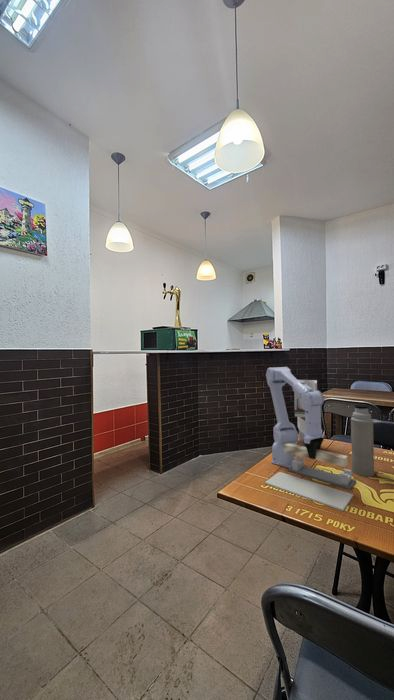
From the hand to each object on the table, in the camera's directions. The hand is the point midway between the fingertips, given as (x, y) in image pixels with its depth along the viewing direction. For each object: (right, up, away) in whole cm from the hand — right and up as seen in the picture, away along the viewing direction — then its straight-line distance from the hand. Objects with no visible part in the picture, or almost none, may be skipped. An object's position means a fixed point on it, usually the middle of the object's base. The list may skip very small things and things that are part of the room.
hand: (313, 457), depth 108 cm
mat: (-5, -10, -5) cm, 12 cm away
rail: (0, 0, 0) cm, 0 cm away
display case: (+12, -10, +36) cm, 39 cm away
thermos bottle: (+24, -10, +8) cm, 27 cm away
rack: (+5, -10, +5) cm, 12 cm away
